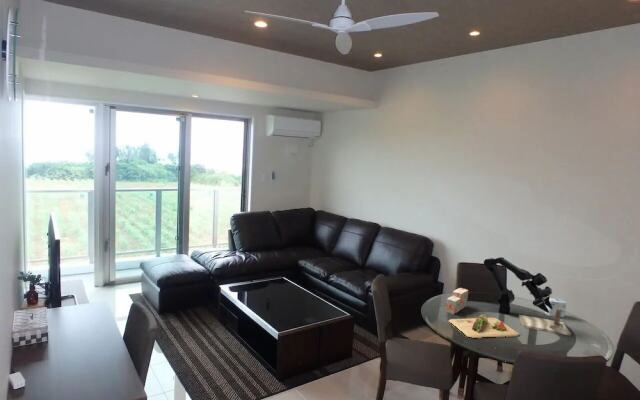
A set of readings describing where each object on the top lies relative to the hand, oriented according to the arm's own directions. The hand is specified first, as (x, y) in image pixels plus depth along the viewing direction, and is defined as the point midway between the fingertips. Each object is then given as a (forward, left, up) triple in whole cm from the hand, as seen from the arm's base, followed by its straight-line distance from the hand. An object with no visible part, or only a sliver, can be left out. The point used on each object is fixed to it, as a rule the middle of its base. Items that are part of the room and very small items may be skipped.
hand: (550, 310), depth 245 cm
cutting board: (-41, -19, -12) cm, 47 cm away
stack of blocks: (-55, +6, -12) cm, 57 cm away
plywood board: (-2, +2, -12) cm, 12 cm away
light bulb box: (+10, +26, -12) cm, 30 cm away
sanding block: (+4, -2, -10) cm, 11 cm away
